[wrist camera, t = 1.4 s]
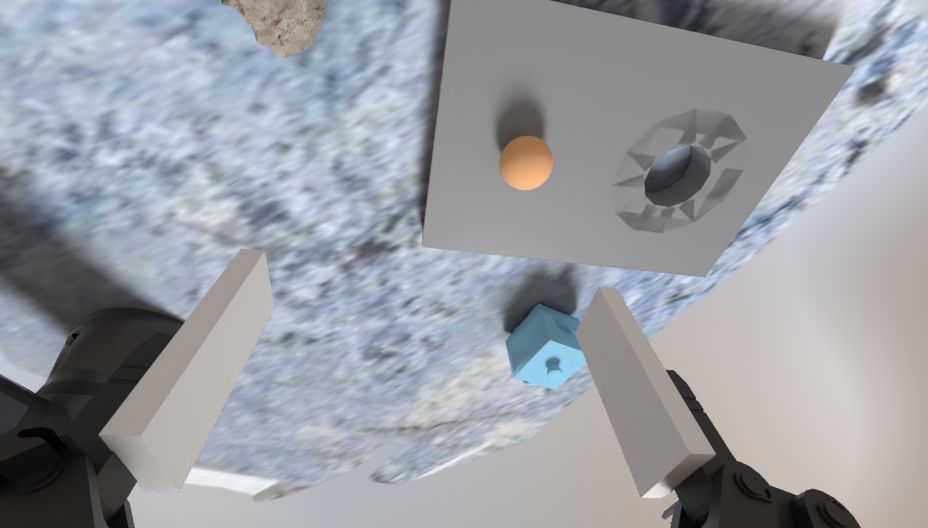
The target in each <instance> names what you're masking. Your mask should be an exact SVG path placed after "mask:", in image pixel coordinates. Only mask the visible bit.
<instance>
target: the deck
mask: <svg viewBox="0 0 928 528" xmlns="http://www.w3.org/2000/svg"><path fill="white" fill-rule="evenodd" d="M856 68H857V67H852V66H847V65H843V64H838V63H834V62H829V61H825V60H820V59H815V58H811V57H806V56H802V55H797V54H793V53H788V52H784V51H779V50H774V49H770V48H765V47H761V46H756V45H752V44H747V43H742V42H738V41H733V40H729V39H724V38H720V37H715V36H710V35H706V34H701V33H697V32H692V31H688V30H683V29H678V28H674V27H669V26H665V25H660V24H656V23H651V22H646V21H642V20H637V19H633V18H628V17H624V16H619V15H615V14H610V13H605V12H601V11H596V10H592V9H587V8H583V7H578V6H573V5H569V4H564V3H560V2H555V1H551V0H450V6H449V15H448V23H447V32H446V40H445V48H444V57H443V65H442V73H441V82H440V90H439V98H438V107H437V115H436V123H435V132H434V140H433V149H432V157H431V165H430V174H429V182H428V190H427V199H426V207H425V215H424V224H423V234H422V247H428V248H437V249H447V250H456V251H465V252H475V253H484V254H493V255H503V256H512V257H521V258H531V259H540V260H549V261H558V262H568V263H577V264H586V265H596V266H605V267H614V268H624V269H633V270H642V271H652V272H661V273H670V274H680V275H689V276H698V277H706V275H707V274H708V272H709V271H710V270H711V268H712V267H713V265H714V264H715V263H716V261H717V260H718V259H719V257H720V256H721V254H722V253H723V252H724V250H725V249H726V247H727V246H728V245H729V243H730V242H731V241H732V239H733V238H734V236H735V235H736V234H737V232H738V231H739V229H740V228H741V227H742V225H743V224H744V223H745V221H746V220H747V218H748V217H749V216H750V214H751V213H752V212H753V210H754V209H755V207H756V206H757V205H758V203H759V202H760V200H761V199H762V198H763V196H764V195H765V194H766V192H767V191H768V189H769V188H770V187H771V185H772V184H773V182H774V181H775V180H776V178H777V177H778V176H779V174H780V173H781V171H782V170H783V169H784V167H785V166H786V164H787V163H788V162H789V160H790V159H791V158H792V156H793V155H794V153H795V152H796V151H797V149H798V148H799V146H800V145H801V144H802V142H803V141H804V140H805V138H806V137H807V135H808V134H809V133H810V131H811V130H812V129H813V127H814V126H815V124H816V123H817V122H818V120H819V119H820V117H821V116H822V115H823V113H824V112H825V111H826V109H827V108H828V106H829V105H830V104H831V102H832V101H833V99H834V98H835V97H836V95H837V94H838V93H839V91H840V90H841V88H842V87H843V86H844V84H845V83H846V81H847V80H848V79H849V77H850V76H851V75H852V73H853V72H854V70H855V69H856ZM521 136H534V137H537V138H539V139H541V140H543V141H544V142H545V143H546V144H547V145H548V147H549V148H550V150H551V153H552V156H553V167H552V171H551V173H550V175H549V177H548V179H547V180H546V181H545V182H544V183H543V184H542V185H540V186H539V187H537V188H535V189H531V190H519V189H516V188H514V187H512V186H510V185H509V184H508V183H507V182H506V181H505V180H504V178H503V176H502V174H501V171H500V157H501V154H502V152H503V150H504V148H505V147H506V146H507V144H508V143H509V142H511V141H512V140H514V139H515V138H518V137H521ZM685 145H690V146H691V162H690V163H689V165H688V167H687V169H686V171H685V172H684V174H683V176H682V177H681V178H679V179H678V180H677V181H676V182H675V183H673V184H672V185H671V186H670V187H668V188H665V189H662V190H659V191H656V192H647V191H645V185H644V181H645V179H646V177H647V175H648V173H649V171H650V169H651V167H652V165H653V164H654V163H655V162H656V161H658V160H659V159H660V158H661V157H662V156H663V155H664V154H666V153H667V152H668V151H671V150H673V149H676V148H679V147H682V146H685Z"/></svg>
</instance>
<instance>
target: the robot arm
mask: <svg viewBox="0 0 928 528" xmlns="http://www.w3.org/2000/svg"><path fill="white" fill-rule="evenodd" d="M274 308H275V307H274V301H273V296H272V290H271V285H270V279H269V273H268V268H267V262H266V256H265V251H257V250H247V249H241V250H240V251H239V252H238V254H237V255H236V256H235V258H234V259H233V260H232V261H231V263H230V264H229V265H228V267H227V268H226V269H225V271H224V272H223V273H222V274H221V276H220V277H219V278H218V280H217V281H216V282H215V284H214V285H213V286H212V288H211V289H210V290H209V291H208V293H207V294H206V295H205V297H204V298H203V299H202V301H201V302H200V303H199V304H198V306H197V307H196V308H195V310H194V311H193V312H192V314H191V315H190V316H189V317H188V319H187V320H186V321H185V323H183V322H181V321H179V320H177V319H174V318H172V317H169V316H166V315H163V314H160V313H156V312H152V311H148V310H142V309H135V308H111V309H105V310H101V311H98V312H95V313H93V314H91V315H89V316H88V317H86V318H85V319H84V320H83V321H82V322H81V323H80V324H79V325H78V326H77V327H75V328H74V329H73V331H72V332H71V333H70V334H69V336H68V338H67V340H66V342H65V346H64V347H63V349H62V351H61V353H60V354H59V356H58V359H57V361H56V363H55V365H54V367H53V369H52V371H51V373H50V375H49V377H48V379H47V381H46V383H45V384H44V385H43V386H42V387H41V388H40V389H39V390H38V391H37V392H36V393H33V392H32V391H30V390H29V389H26V388H25V387H23V386H21V385H19V384H17V383H15V382H13V381H12V380H10V379H8V378H6V377H4V376H2V375H0V528H135V527H134V522H133V517H132V512H131V507H130V503H129V501H128V500H127V497H128V496H129V494H130V492H131V491H132V489H133V487H134V486H135V484H136V483H138V485H139V486H140V487H141V488H142V490H143V491H144V492H155V493H179V491H180V489H181V488H182V486H183V484H184V482H185V480H186V478H187V476H188V474H189V472H190V470H191V468H192V466H193V464H194V463H195V461H196V459H197V457H198V455H199V453H200V451H201V449H202V447H203V445H204V443H205V441H206V439H207V437H208V436H209V434H210V432H211V430H212V428H213V426H214V424H215V422H216V420H217V418H218V416H219V414H220V412H221V410H222V408H223V407H224V405H225V403H226V401H227V399H228V397H229V395H230V393H231V391H232V389H233V387H234V385H235V383H236V381H237V380H238V378H239V376H240V374H241V372H242V370H243V368H244V366H245V364H246V362H247V360H248V358H249V356H250V354H251V353H252V351H253V349H254V347H255V345H256V343H257V341H258V339H259V337H260V335H261V333H262V331H263V329H264V327H265V326H266V324H267V322H268V320H269V318H270V316H271V314H272V312H273V310H274ZM575 335H576V337H577V340H578V342H579V344H580V347H581V349H582V352H583V354H584V357H585V359H586V362H587V364H588V367H589V369H590V372H591V374H592V377H593V379H594V382H595V384H596V387H597V389H598V392H599V394H600V397H601V399H602V402H603V404H604V407H605V409H606V412H607V414H608V416H609V419H610V422H611V424H612V427H613V429H614V431H615V434H616V437H617V439H618V442H619V444H620V446H621V449H622V452H623V454H624V457H625V459H626V461H627V464H628V466H629V469H630V471H631V474H632V476H633V479H634V481H635V484H636V486H637V489H638V491H639V494H640V496H641V498H664V497H666V496H667V495H668V494H669V493H670V492H672V491H673V490H675V491H676V494H677V496H678V498H679V500H678V501H677V502H676V503H674V504H673V505H672V506H671V507H669V508H668V509H667V510H666V511H664V513H663V515H662V518H663V519H667V518H668V517H669V516H671V515H672V514H673V518H672V522H671V528H861V527H860V526H859V524H858V523H857V521H856V520H855V518H854V517H853V515H852V514H851V513H850V512H849V511H848V510H847V509H846V508H845V507H844V506H843V505H842V504H841V503H840V502H838V501H837V500H836V499H835V498H833V497H831V496H830V495H828V494H826V493H824V492H823V491H819V490H816V489H810V490H806V491H805V492H803V493H801V494H800V495H798V496H797V495H794V494H792V493H789V492H786V491H784V490H781V489H778V488H775V487H772V486H770V485H769V484H768V483H767V482H766V480H765V479H764V478H763V477H762V476H761V475H760V474H759V473H758V472H756V471H755V470H754V469H752V468H751V467H750V466H748V465H746V464H743V463H741V462H738V461H736V459H735V458H734V456H733V455H732V454H731V452H730V451H729V449H728V447H727V446H726V444H725V443H724V441H723V439H722V438H721V436H720V435H719V433H718V431H717V430H716V428H715V427H714V425H713V424H712V422H711V420H710V419H709V417H708V416H707V414H706V413H704V412H703V410H704V409H703V408H702V406H701V405H700V403H699V402H698V401H696V397H695V395H694V394H693V392H692V391H691V389H690V387H689V386H688V385H687V383H686V382H685V381H684V380H683V379H682V378H681V377H680V376H679V375H678V374H677V373H676V372H675V371H674V370H665V368H664V367H663V365H662V363H661V362H660V360H659V359H658V357H657V355H656V354H655V352H654V350H653V349H652V347H651V345H650V344H649V342H648V340H647V339H646V337H645V335H644V334H643V332H642V330H641V329H640V327H639V325H638V324H637V322H636V320H635V319H634V317H633V315H632V314H631V312H630V310H629V309H628V307H627V305H626V304H625V302H624V300H623V299H622V297H621V295H620V294H619V292H618V290H617V289H614V288H605V287H599V288H598V290H597V292H596V294H595V296H594V298H593V300H592V302H591V303H590V305H589V307H588V309H587V311H586V313H585V315H584V317H583V319H582V321H581V323H580V324H579V326H578V328H577V330H576V332H575Z"/></svg>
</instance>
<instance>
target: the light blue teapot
mask: <svg viewBox="0 0 928 528" xmlns="http://www.w3.org/2000/svg"><path fill="white" fill-rule="evenodd" d="M579 324H580V322H579V319H577V318H574V317H572V316H569V315H567V314H564V313H561V312H559V311H556V310H554V309H551V308H549V307H546V306H544V305H541V304H537V306H536V307H534V308H532V309H531V311H530V313H529V315H528V316H527V317H526V318H525V319H524V320H523V321H522V323H521V324H520V325H519V326H517V327H516V328H515V329H514V332H513V333H512V334H511V335H510V336H509V338H508V339H507V340H506V345H507V350H508V355H509V360H510V366H511V371H512V376H513V377H514V378H517V379H521V380H523V382H524V383H525V384H527V385H531V386H532V385H535V384H537V385H540V386H544V387H547V388H551V389H554V390H555V389H556V388H558V387H559V386H560V385H561V384H562V383H563V382H564V381H565V380H567V379H568V378H569V377H570V376H571V375H572V374H573V373H574V372H576V371H577V370H578V369H579V368H580V367H581V366H582V365H583V364H584V363H585V362H586V359H585V357H584V354H583V352H582V349H581V347H580V344H579V342H578V340H577V337H576V335H575V332H576V330H577V328H578V326H579Z"/></svg>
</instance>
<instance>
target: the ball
mask: <svg viewBox="0 0 928 528" xmlns="http://www.w3.org/2000/svg"><path fill="white" fill-rule="evenodd" d="M552 167H553V156H552V153H551V150H550V148H549V147H548V145H547V144H546V143H545V142H544V141H543V140H541V139H539V138H537V137H534V136H521V137H518V138H515V139H514V140H512V141H511V142H509V143H508V144H507V146H506V147H505V148H504V150H503V152H502V154H501V157H500V171H501V174H502V176H503V178H504V180H505V181H506V182H507V183H508V184H509V185H510V186H512V187H514V188H516V189H519V190H531V189H535V188H537V187H539V186H540V185H542V184H543V183H544V182H545V181H546V180H547V179H548V177H549V175H550V173H551V171H552Z"/></svg>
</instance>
